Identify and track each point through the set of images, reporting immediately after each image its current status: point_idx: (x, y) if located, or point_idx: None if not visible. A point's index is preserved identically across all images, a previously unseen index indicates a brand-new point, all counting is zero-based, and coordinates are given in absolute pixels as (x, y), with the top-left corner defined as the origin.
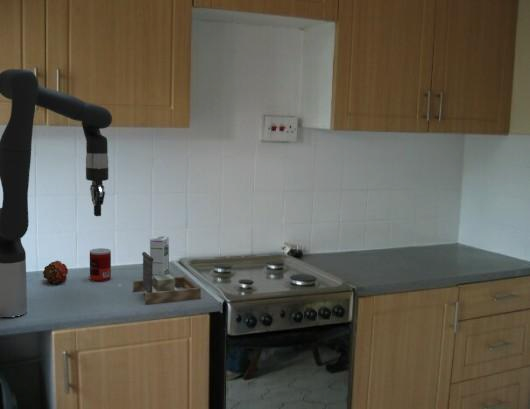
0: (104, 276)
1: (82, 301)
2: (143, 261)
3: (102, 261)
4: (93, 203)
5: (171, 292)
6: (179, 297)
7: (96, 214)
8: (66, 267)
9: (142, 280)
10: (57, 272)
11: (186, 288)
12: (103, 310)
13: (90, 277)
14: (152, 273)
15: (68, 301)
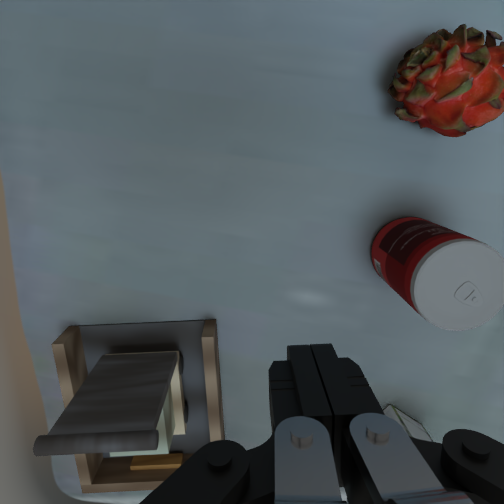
0: (375, 263)
1: (159, 151)
2: (150, 413)
3: (397, 276)
4: (366, 427)
5: None
6: None
7: (272, 365)
8: (442, 127)
9: (213, 365)
10: (406, 83)
11: (167, 459)
12: (48, 201)
13: (406, 217)
14: (386, 411)
15: (171, 104)
